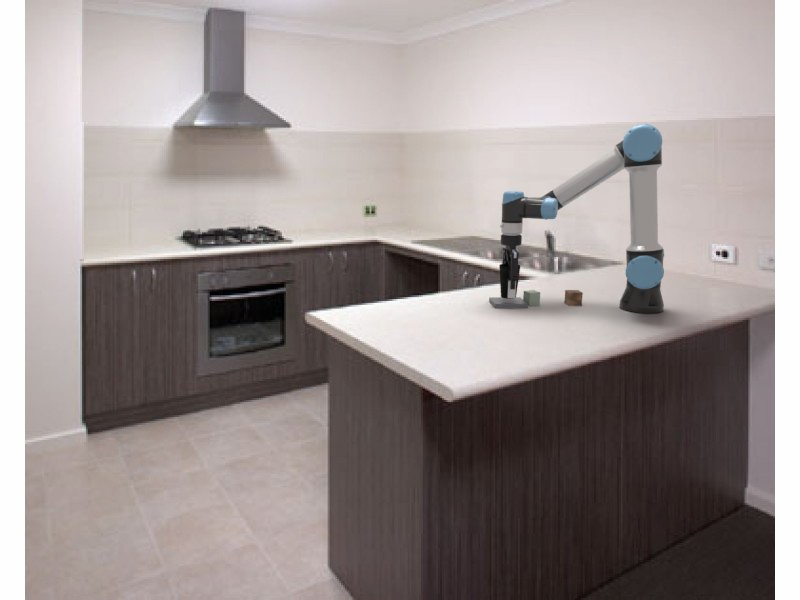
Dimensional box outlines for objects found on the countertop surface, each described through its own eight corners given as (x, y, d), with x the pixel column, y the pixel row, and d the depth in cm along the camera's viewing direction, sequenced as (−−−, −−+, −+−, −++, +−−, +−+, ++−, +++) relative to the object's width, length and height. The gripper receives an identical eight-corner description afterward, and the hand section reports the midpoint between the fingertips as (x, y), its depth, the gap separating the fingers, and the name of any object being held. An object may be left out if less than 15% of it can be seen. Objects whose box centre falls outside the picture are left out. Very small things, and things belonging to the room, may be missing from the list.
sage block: (532, 303, 240) (533, 290, 239) (539, 305, 236) (540, 292, 235) (522, 303, 239) (523, 290, 238) (529, 306, 235) (530, 293, 234)
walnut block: (577, 302, 241) (578, 289, 240) (581, 305, 237) (582, 292, 236) (564, 302, 241) (565, 290, 240) (568, 305, 236) (569, 292, 235)
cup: (493, 296, 236) (495, 265, 234) (506, 294, 241) (507, 262, 239) (510, 300, 231) (512, 267, 228) (523, 297, 236) (524, 265, 233)
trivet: (519, 301, 243) (520, 297, 242) (527, 307, 232) (528, 303, 231) (489, 301, 242) (489, 297, 241) (495, 308, 231) (495, 303, 231)
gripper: (495, 231, 241) (492, 289, 246) (508, 237, 221) (505, 301, 226) (514, 231, 241) (511, 289, 246) (529, 237, 221) (525, 301, 226)
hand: (508, 295), depth 236 cm, fingers closed on cup, 8 cm apart
